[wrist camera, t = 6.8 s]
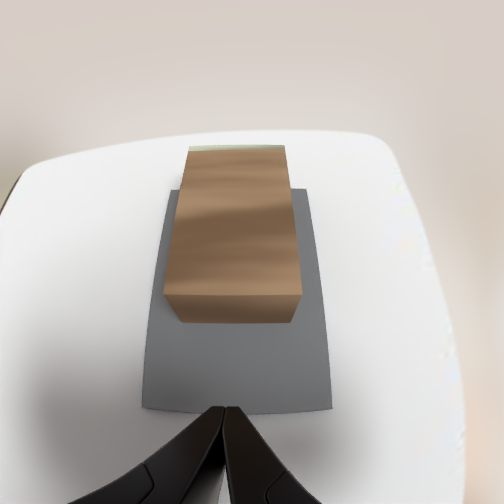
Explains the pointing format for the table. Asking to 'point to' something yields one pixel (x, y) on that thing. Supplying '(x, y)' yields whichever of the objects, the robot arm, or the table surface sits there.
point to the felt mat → (240, 345)
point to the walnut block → (234, 238)
